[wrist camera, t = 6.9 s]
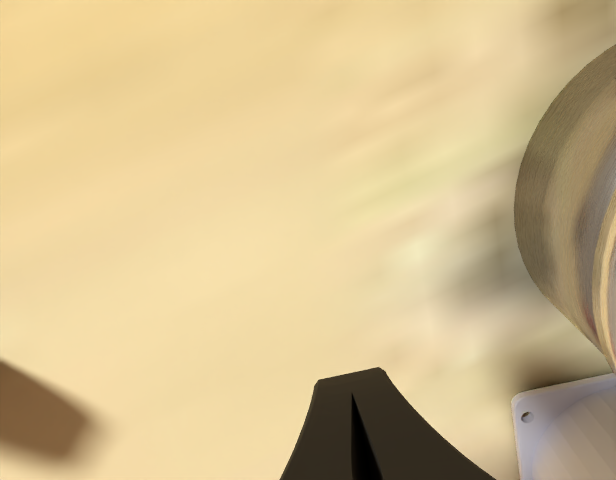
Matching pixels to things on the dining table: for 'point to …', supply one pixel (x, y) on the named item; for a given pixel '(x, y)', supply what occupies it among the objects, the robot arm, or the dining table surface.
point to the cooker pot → (569, 190)
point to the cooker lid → (606, 284)
